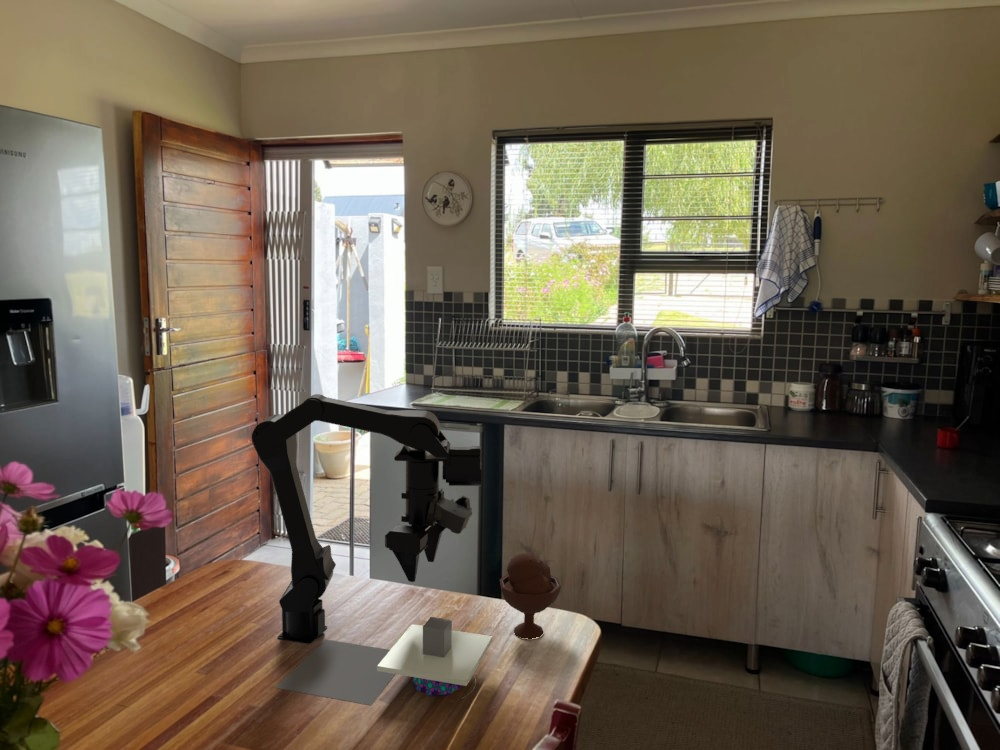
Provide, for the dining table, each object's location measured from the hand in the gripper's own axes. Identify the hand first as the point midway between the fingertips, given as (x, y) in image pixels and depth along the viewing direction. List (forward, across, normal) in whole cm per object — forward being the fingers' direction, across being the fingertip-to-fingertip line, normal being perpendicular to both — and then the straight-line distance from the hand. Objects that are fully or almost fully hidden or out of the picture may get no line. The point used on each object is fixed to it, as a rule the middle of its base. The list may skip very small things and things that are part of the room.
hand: (421, 571), depth 132 cm
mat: (+12, -15, +7) cm, 20 cm away
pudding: (+13, -14, -8) cm, 21 cm away
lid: (+7, -14, -8) cm, 18 cm away
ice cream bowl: (+12, +7, -18) cm, 23 cm away
